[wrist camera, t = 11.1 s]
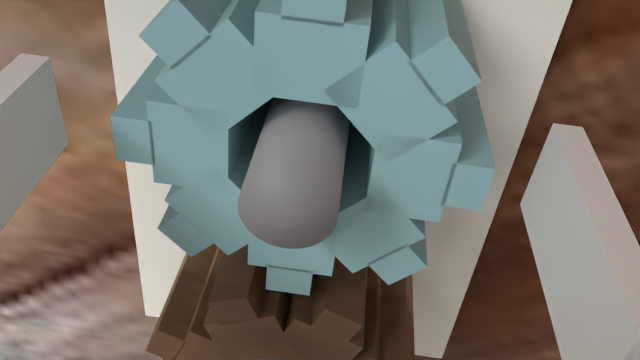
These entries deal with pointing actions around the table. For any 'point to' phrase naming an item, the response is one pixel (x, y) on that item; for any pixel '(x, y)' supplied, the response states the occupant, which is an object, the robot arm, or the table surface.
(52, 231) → the table surface
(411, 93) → the teal gear
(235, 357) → the walnut gear
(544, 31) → the gear board
